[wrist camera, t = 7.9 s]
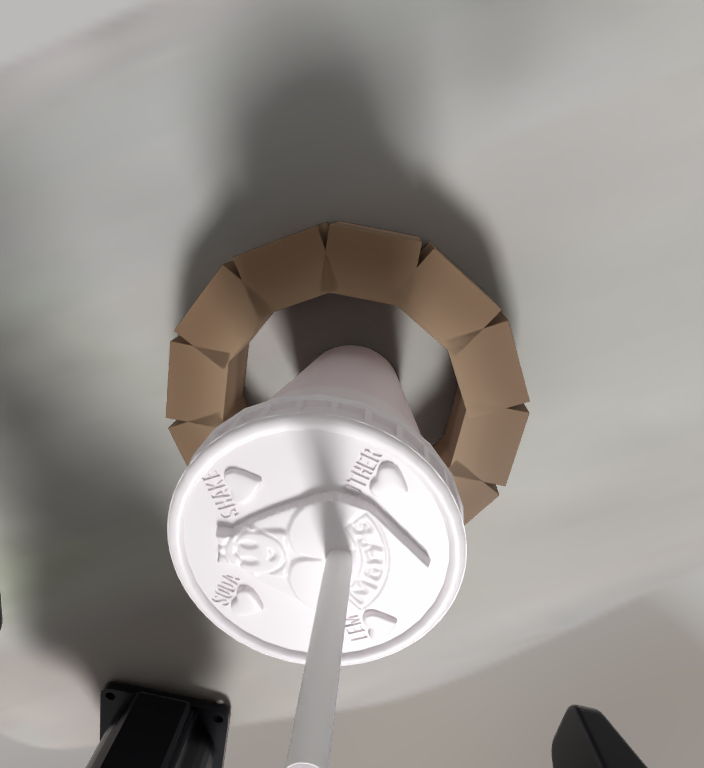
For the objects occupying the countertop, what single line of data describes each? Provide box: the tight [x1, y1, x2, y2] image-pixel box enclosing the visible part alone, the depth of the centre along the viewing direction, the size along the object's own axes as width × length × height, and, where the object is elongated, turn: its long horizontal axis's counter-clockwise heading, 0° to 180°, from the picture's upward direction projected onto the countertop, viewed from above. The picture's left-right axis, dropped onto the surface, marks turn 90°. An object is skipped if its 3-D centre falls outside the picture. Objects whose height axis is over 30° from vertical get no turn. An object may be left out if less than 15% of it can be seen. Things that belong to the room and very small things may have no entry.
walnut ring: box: [166, 221, 530, 525], centre depth 19 cm, size 12×12×2 cm
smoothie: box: [167, 345, 467, 768], centre depth 13 cm, size 6×6×14 cm
